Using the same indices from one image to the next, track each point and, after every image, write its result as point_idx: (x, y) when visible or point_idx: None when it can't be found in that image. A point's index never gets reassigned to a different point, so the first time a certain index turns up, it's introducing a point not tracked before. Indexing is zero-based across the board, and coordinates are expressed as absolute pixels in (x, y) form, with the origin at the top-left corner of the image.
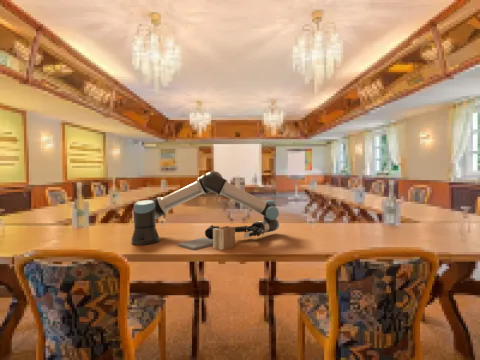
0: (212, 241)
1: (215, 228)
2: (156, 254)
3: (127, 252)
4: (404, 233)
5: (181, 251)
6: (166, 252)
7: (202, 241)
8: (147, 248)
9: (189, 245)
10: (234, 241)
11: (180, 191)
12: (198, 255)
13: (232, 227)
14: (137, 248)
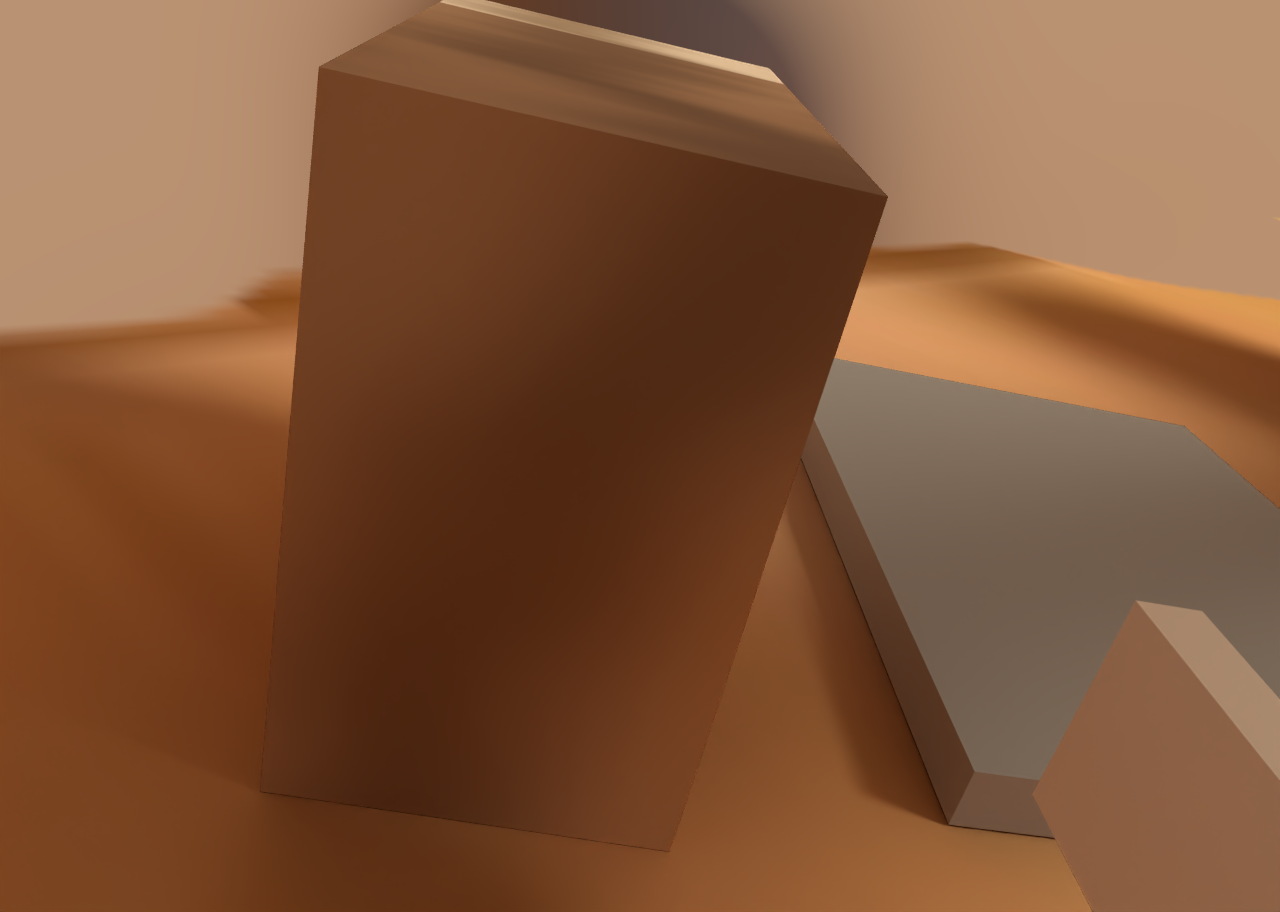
0: (1044, 670)
1: (766, 77)
2: (872, 268)
3: (1087, 277)
4: None
5: None
6: (886, 303)
7: (1159, 595)
8: (1169, 346)
9: (954, 396)
10: (278, 634)
11: None
12: None
13: (418, 76)
14: (1210, 336)
